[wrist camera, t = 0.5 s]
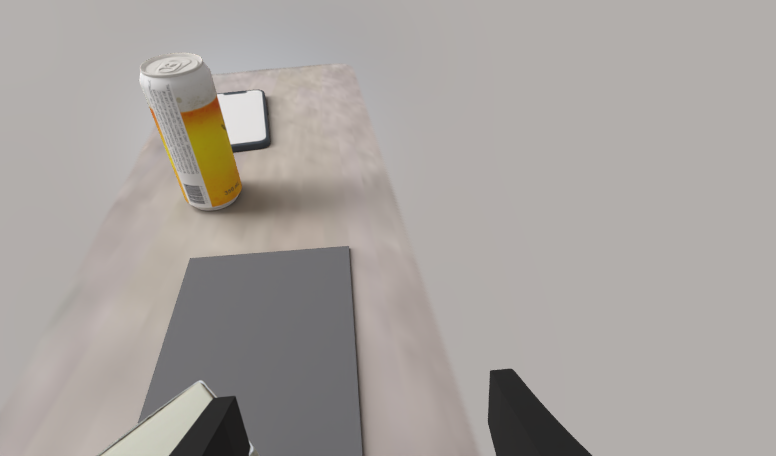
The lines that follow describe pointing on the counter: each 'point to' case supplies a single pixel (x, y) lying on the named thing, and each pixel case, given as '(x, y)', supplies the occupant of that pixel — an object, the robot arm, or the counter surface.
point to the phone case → (245, 119)
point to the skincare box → (165, 425)
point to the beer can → (192, 128)
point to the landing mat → (269, 348)
